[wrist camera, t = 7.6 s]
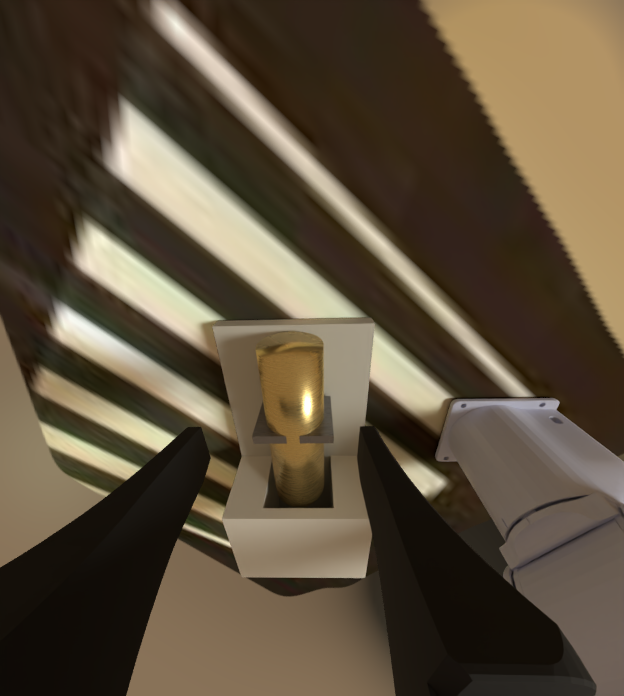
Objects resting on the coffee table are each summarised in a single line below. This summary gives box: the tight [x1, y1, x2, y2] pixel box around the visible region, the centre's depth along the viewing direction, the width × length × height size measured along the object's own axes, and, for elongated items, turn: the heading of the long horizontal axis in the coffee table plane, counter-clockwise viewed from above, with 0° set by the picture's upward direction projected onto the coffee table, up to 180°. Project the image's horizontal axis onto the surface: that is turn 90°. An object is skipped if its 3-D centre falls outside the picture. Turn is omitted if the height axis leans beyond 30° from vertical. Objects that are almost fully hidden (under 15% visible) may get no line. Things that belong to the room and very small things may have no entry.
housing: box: [212, 318, 375, 578], centre depth 21 cm, size 12×24×7 cm, turn 2°
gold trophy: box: [252, 332, 334, 507], centre depth 19 cm, size 6×14×4 cm, turn 1°
